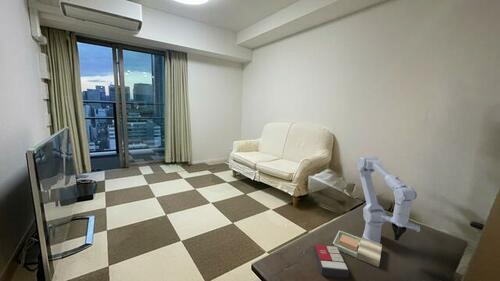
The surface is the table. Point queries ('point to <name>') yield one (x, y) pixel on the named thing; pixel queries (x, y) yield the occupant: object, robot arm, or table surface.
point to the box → (343, 249)
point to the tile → (349, 243)
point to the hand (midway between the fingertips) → (396, 239)
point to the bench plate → (369, 251)
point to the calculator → (330, 261)
